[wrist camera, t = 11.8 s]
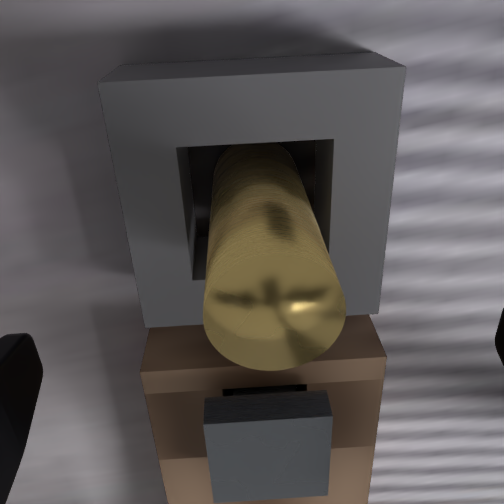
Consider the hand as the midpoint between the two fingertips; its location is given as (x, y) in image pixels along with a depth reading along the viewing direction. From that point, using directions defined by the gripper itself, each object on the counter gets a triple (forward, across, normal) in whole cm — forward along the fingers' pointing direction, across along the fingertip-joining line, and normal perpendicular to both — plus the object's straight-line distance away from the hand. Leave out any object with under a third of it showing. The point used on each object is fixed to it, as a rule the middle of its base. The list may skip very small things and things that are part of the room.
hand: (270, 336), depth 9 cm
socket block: (+9, 0, +14) cm, 17 cm away
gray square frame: (+9, 0, 0) cm, 9 cm away
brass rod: (+9, 0, 0) cm, 9 cm away
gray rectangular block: (+9, 0, +9) cm, 13 cm away
